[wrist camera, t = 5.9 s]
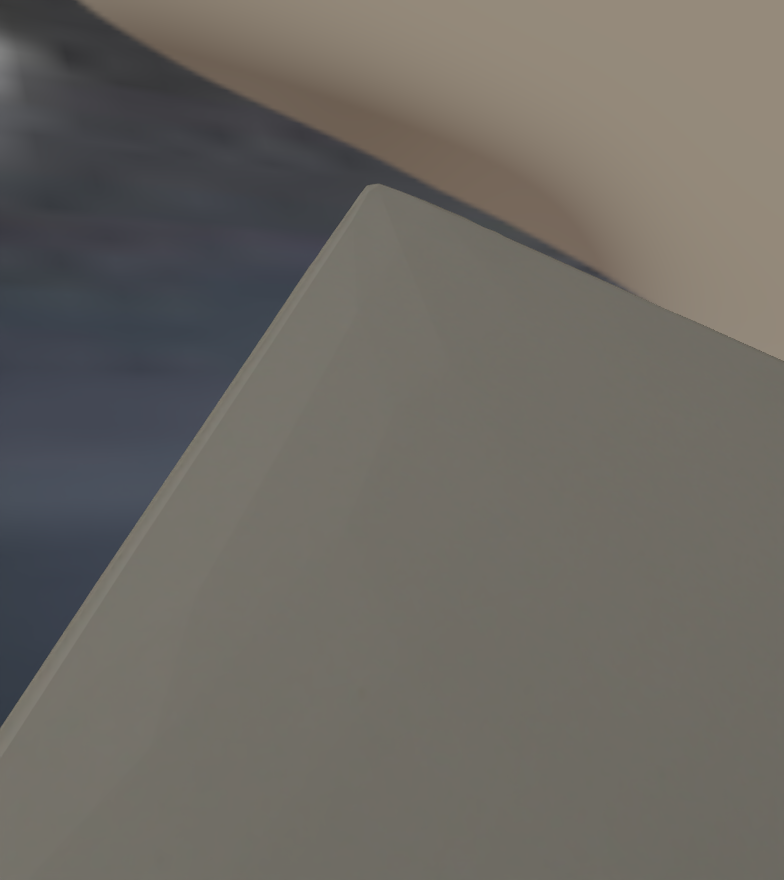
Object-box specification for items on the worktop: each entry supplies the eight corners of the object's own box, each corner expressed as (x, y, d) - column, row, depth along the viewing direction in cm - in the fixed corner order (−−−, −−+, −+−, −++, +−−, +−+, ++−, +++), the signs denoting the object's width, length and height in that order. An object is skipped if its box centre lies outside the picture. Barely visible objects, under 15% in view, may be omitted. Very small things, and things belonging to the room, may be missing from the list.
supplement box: (284, 539, 16) (373, 148, 6) (499, 632, 16) (971, 427, 6) (146, 816, 12) (-505, 1315, 1) (436, 935, 12) (1640, 2080, 2)
